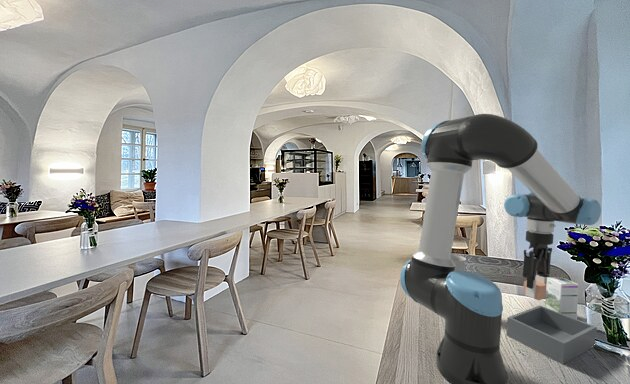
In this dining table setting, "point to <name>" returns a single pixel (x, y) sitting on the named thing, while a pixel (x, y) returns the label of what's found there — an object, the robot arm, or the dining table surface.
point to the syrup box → (562, 296)
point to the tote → (551, 333)
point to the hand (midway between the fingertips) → (534, 295)
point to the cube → (537, 290)
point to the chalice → (458, 262)
